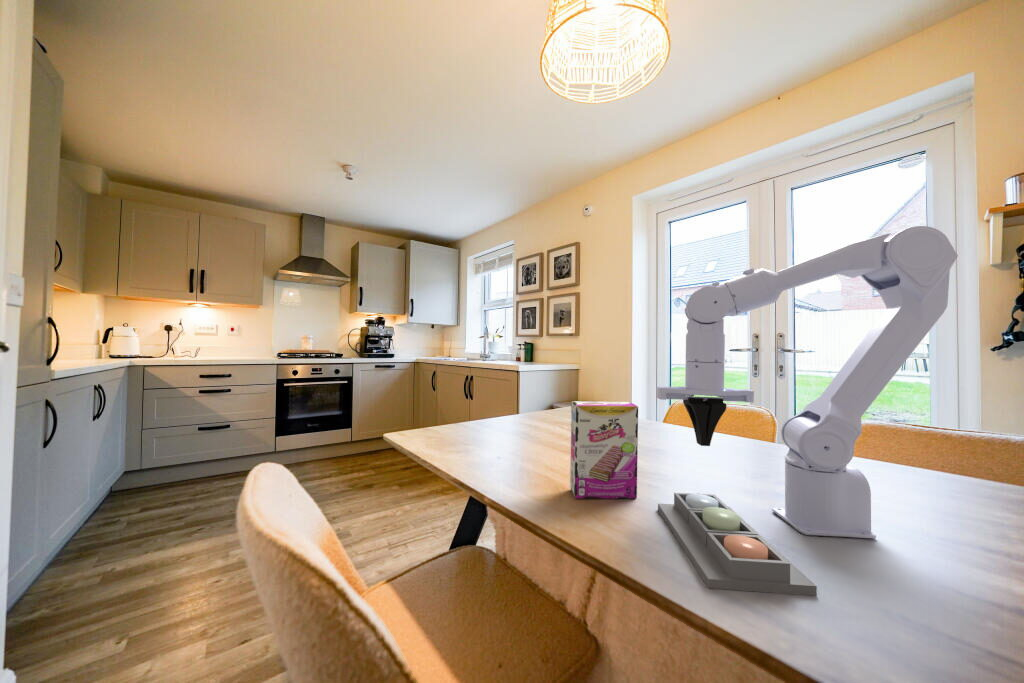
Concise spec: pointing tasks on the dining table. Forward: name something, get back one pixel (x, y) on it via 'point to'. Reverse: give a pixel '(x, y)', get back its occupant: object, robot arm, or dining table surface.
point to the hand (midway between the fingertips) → (703, 444)
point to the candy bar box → (604, 449)
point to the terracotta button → (745, 547)
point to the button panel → (719, 564)
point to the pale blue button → (700, 501)
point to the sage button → (721, 519)
